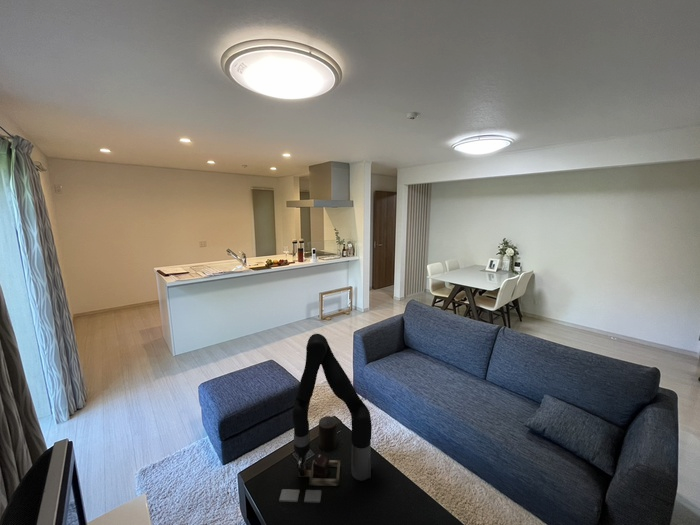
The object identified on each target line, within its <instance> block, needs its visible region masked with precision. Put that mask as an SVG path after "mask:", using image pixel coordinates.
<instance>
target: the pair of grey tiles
mask: <svg viewBox="0 0 700 525" xmlns="http://www.w3.org/2000/svg"><path fill="white" fill-rule="evenodd" d="M300 490H301V489H289V488H288V489H286V488H285V489H284V488H283V489H281V493H280V496H279V500H278V501H279V502H281V503H282V502H284V503H288V502H289V503H298V502H299V495H300V492H301V491H300ZM321 498H322V490H321V489H315V490H314V489H305V495H304V500H303V502H304V503H311V504H313V503H318V504H319V503H321V500H322V499H321Z"/></svg>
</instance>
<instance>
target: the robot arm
mask: <svg viewBox="0 0 700 525" xmlns="http://www.w3.org/2000/svg"><path fill="white" fill-rule="evenodd" d="M305 350H306V351H305V354H306V355H305V366H304V369H303V372H302V375H301V378H300V381H299V384H298V385H299V386H298V389H297V395H296V398H295V401H294V403H293V409H292V421H293V432H294V433H293V447H294V448H293V451H294V453H295V454H297V464H296V468H297V472H298V473H299V472H300V476H304V469H305V468H304V465H305V463H306V464H307V458H308V452H309V451H310V449H311V435H310V434H311V433H310V422H309V408H310V404H311V399H312V398H313V394H314V391H315V386H316V381H317V378H318V373H319V370H320V367H322V371H323V375H324V377H325V379H326V382H327V384H328V386H329V388H330V389H331V391H332V392H333V394H334V395H335V396H336V397H337V398H338V399H339V400H341V401H342V402H343V403H344V404H345V405H346V407H347V409H348V411H349V413H350V418H351V419H350V420H351V468H350V469H351V475H352V477H353V478H354V479H355V480H357V481H361V482H362V481H365V480H367V479H371V477H372V476H371V475H372V474H371V472H372V471H371V469H372V468H371V466H372V459H371V458H372V457H371V447H372V446H371V445H372V444H371V443H372V442H371V441H372V430H373V429H372V418H371V413H370V410H369V408H368V407H367V405H366V404H365V403H364V401H362V399H361V398H360V396H359V395H358V393H357V391H356V388H355V387H354V385H353V383H352V382H351V380H350V378H349V376H348V375H347V373H346V371H344V368H343V367H342V366H341V364H340V362H339V361H338V360H337V358H336V356H335V355H334V353H333V351H332V349H331V346H330V344H329V342H328V340H327V338H326V337H325V336H324V335H322V334H320V333H313V334H312V335H310V336H309V338H308V341H307V344H306V349H305Z"/></svg>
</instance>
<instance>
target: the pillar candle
mask: <svg viewBox="0 0 700 525" xmlns="http://www.w3.org/2000/svg"><path fill="white" fill-rule="evenodd" d="M337 432H338V431H337V419H336V418H335V417H333V416H330V415H326V416H323V417H321V418H320V419H319V422H318V446H319V448H320V450H322V451H324V452H331V451H333V450H335V449H336V447H337V445H338V444H337V440H338V436H337Z"/></svg>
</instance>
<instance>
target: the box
mask: <svg viewBox="0 0 700 525" xmlns="http://www.w3.org/2000/svg"><path fill="white" fill-rule="evenodd" d="M314 460H315V461H314V463H313V462H312V463H313V478H321V479H327V476H328V475H329V472H330V467H329V460H330V457H329V456H327V455H326V456H325V455H321V454H317V456H316V458H315V459H314Z"/></svg>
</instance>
